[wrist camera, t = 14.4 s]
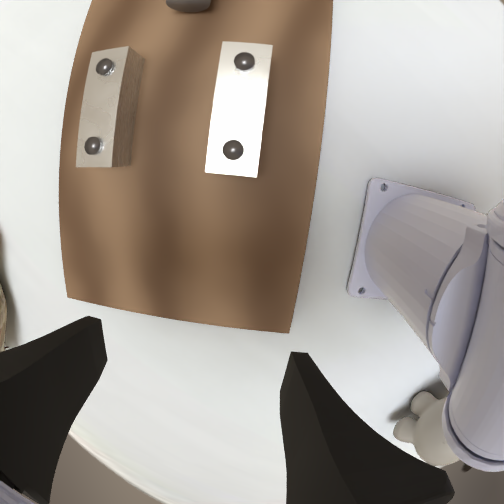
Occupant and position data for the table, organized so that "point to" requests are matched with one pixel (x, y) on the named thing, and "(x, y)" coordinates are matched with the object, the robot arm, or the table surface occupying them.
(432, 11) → the table surface
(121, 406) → the table surface
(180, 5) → the plug
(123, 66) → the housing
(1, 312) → the decorative bird
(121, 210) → the base board
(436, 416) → the round bodied animal figurine
